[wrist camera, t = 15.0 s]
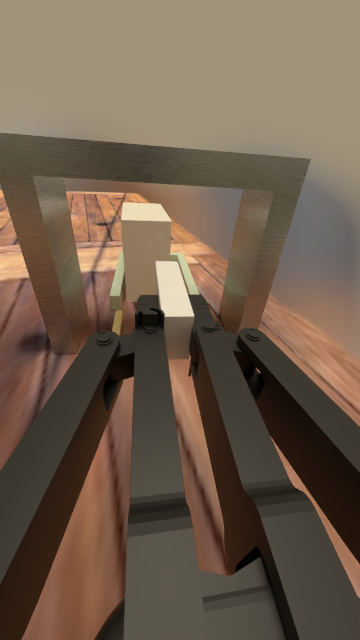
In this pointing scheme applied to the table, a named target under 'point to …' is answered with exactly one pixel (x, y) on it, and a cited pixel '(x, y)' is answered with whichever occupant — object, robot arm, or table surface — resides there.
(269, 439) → the robot arm
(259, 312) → the gray arch frame
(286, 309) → the table surface
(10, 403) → the table surface
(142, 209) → the plug block
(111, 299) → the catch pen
